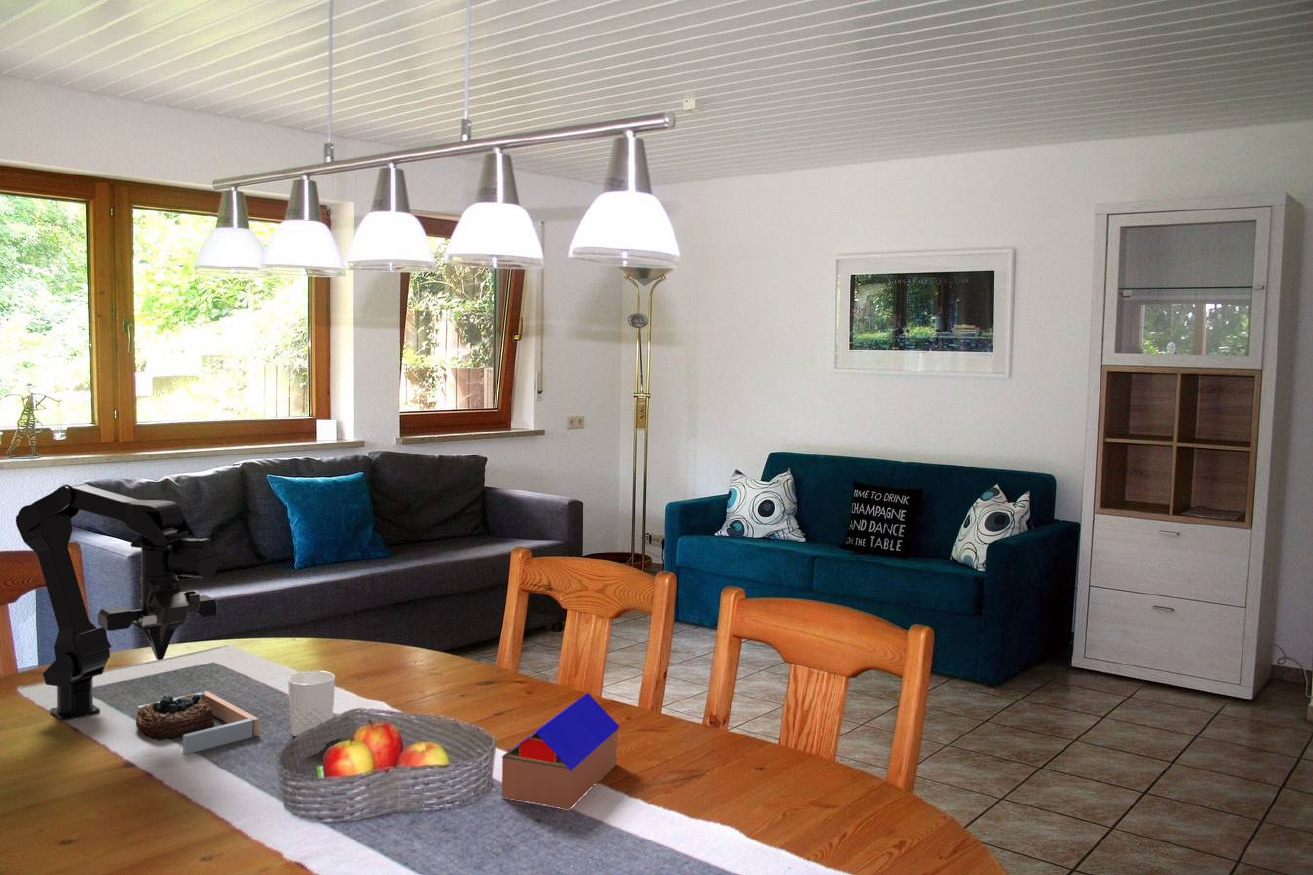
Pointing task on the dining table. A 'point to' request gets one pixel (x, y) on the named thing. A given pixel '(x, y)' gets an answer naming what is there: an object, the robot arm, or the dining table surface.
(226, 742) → the corral
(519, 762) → the house
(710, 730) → the dining table surface
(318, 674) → the white cup
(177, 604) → the robot arm
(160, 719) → the pastry
